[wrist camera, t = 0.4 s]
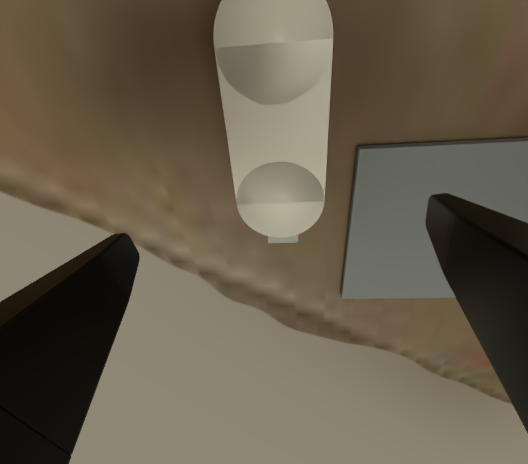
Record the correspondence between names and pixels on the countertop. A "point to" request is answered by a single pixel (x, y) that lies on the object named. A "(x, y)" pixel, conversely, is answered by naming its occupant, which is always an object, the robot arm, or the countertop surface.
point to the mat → (422, 209)
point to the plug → (276, 109)
